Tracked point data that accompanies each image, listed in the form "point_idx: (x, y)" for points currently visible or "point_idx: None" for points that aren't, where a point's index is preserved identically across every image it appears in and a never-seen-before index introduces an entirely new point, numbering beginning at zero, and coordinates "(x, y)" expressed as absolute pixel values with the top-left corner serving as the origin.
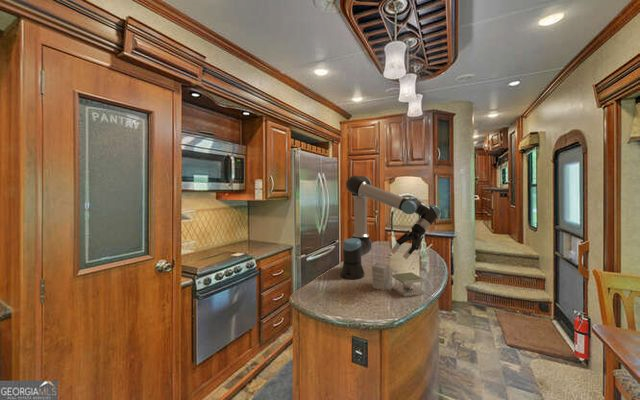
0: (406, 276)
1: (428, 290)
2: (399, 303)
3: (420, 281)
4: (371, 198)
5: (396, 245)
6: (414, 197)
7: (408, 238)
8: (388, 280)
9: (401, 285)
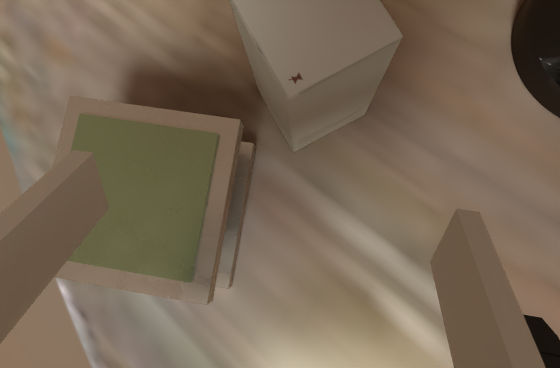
0: (130, 177)
1: (125, 330)
2: (74, 51)
3: None
4: None
5: (499, 354)
6: None
7: None
8: (283, 127)
9: (232, 201)
